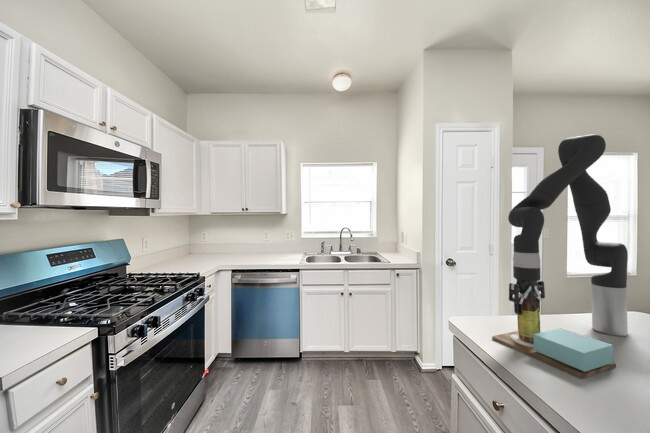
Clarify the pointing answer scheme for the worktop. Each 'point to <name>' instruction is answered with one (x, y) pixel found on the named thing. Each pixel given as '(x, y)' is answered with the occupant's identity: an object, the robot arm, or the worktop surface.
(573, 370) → the walnut board
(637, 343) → the worktop surface
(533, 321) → the sauce bottle
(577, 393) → the worktop surface
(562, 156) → the robot arm
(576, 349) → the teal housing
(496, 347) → the worktop surface
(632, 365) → the worktop surface
